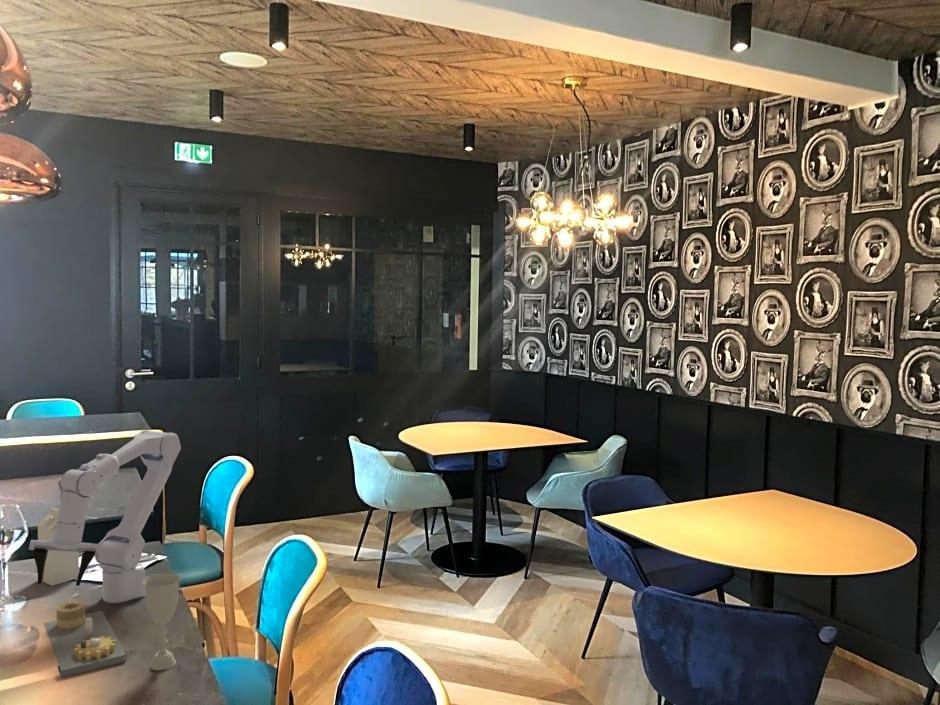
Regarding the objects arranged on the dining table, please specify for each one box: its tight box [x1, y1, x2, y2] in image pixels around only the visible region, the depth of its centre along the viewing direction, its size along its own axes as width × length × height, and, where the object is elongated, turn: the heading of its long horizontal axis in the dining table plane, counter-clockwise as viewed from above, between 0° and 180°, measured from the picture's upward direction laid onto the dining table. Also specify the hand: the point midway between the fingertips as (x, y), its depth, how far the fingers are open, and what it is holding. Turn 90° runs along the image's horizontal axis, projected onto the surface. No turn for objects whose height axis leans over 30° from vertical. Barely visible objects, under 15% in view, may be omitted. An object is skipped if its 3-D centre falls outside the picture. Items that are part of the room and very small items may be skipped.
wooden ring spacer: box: [56, 600, 86, 629], centre depth 169 cm, size 6×6×4 cm
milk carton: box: [37, 506, 80, 587], centre depth 198 cm, size 7×7×19 cm
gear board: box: [44, 610, 127, 679], centre depth 162 cm, size 12×26×6 cm, turn 36°
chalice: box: [143, 573, 182, 671], centre depth 154 cm, size 7×7×18 cm
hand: (59, 584), depth 168 cm, fingers open, 7 cm apart
